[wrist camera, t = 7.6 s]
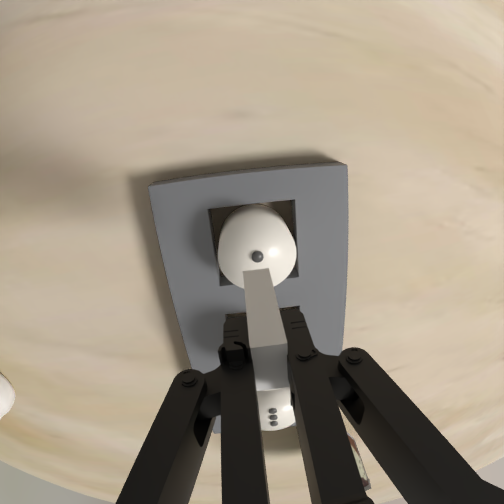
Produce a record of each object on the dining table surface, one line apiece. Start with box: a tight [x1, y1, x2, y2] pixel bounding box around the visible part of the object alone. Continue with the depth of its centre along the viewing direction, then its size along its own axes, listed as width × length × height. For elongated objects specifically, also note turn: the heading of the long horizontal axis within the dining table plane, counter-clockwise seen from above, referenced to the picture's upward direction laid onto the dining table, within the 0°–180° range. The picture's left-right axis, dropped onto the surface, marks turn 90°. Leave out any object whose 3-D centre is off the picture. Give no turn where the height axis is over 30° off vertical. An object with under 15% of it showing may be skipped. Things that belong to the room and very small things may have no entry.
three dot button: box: [257, 386, 296, 431], centre depth 34 cm, size 6×6×4 cm
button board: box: [148, 162, 348, 433], centre depth 31 cm, size 32×16×2 cm, turn 6°
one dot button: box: [218, 204, 296, 289], centre depth 26 cm, size 6×6×4 cm
